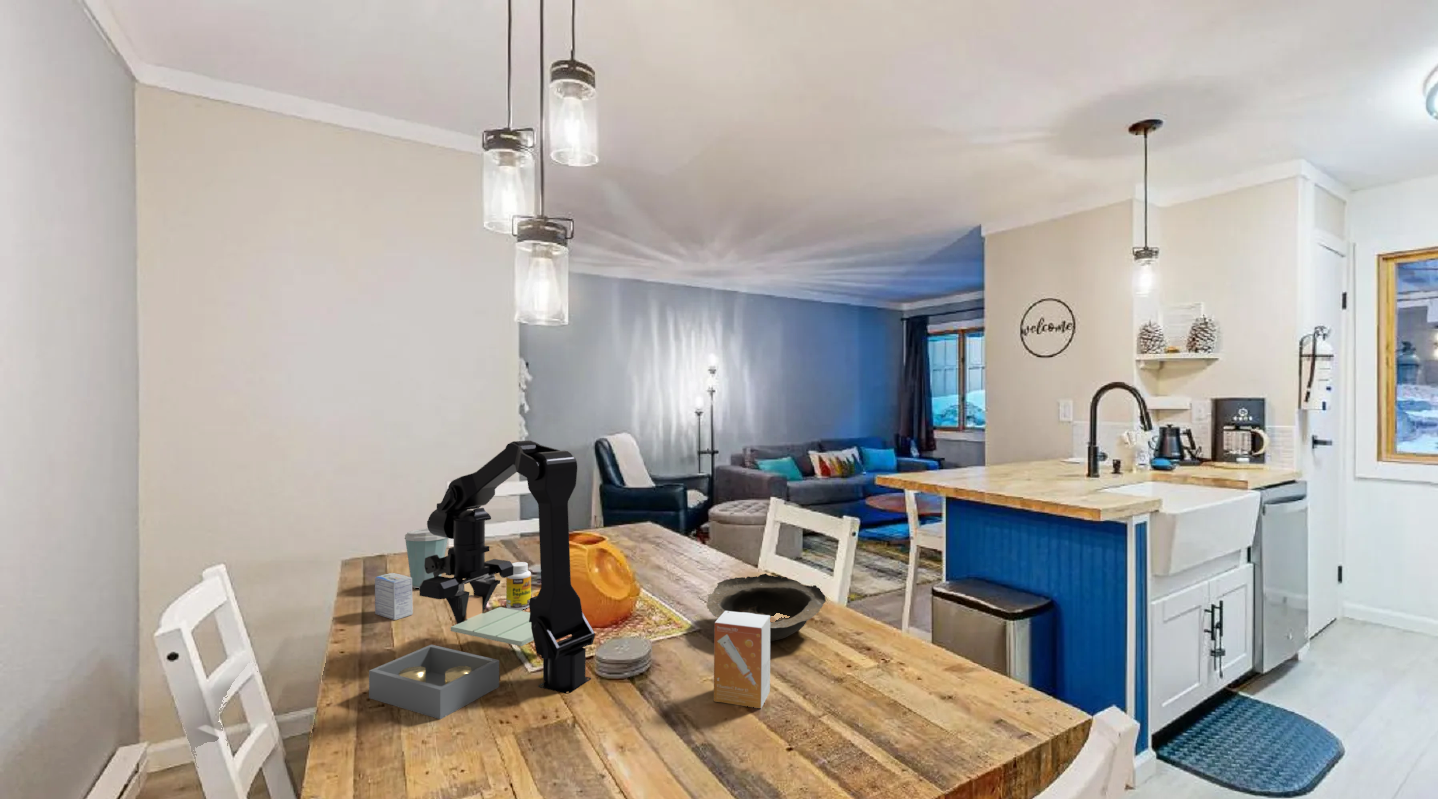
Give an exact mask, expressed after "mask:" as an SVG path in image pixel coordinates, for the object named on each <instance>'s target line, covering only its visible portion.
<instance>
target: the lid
mask: <svg viewBox="0 0 1438 799" xmlns="http://www.w3.org/2000/svg"><path fill="white" fill-rule="evenodd" d="M529 619H530V611H524V610H513V609H508V608H507V607H502V606H499V607H496V608H494V609H492V610H489V611H486V612H483V613H482V597H481V596H475V595H474V594H469V599H468V604H467V610H466V615H465V620H464V622H461V623H459V624H457V622H456V619H455V618H454V625H452V626H450V631H451V632H453V633H456V634H457V633H459V634H462V635H468V636H472V637H477V638H481V639H485V640H490V641H495V642H499V643H505V644H509V645H513V646H514V645H515V646H519V647H523V646H524V645H525V646H526V645H527V644H528V643H531V642H534V638H533V634H532V629H531V622H529Z"/></svg>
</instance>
